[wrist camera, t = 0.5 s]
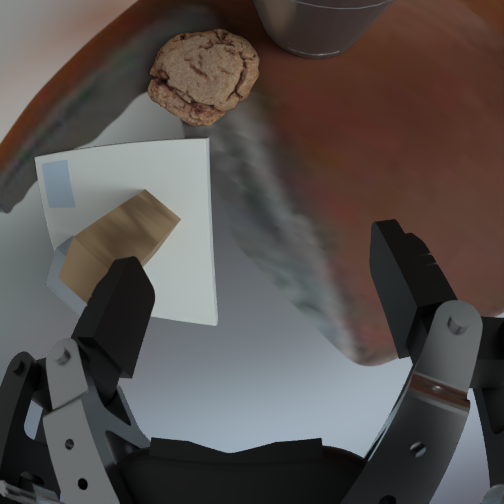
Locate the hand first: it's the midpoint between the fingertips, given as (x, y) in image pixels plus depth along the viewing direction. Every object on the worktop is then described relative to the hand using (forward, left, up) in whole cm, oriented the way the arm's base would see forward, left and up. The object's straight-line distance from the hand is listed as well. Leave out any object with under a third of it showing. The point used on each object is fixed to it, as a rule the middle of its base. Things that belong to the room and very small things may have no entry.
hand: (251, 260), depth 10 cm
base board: (+9, -19, -19) cm, 28 cm away
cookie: (-9, -7, -20) cm, 23 cm away
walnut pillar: (+6, -13, -18) cm, 23 cm away
